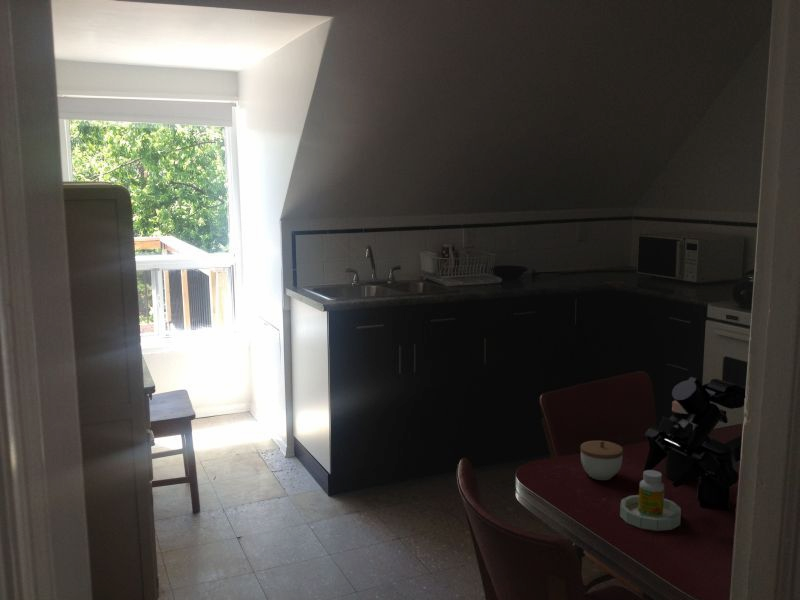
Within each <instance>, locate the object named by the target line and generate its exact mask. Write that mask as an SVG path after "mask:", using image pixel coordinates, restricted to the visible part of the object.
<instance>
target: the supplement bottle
mask: <svg viewBox="0 0 800 600" xmlns="http://www.w3.org/2000/svg"><path fill="white" fill-rule="evenodd" d="M642 478H643V479H642V480H640V481H639V489H638V495H639V504H638V512H639V513H640V514H641V515H642V516H646V517H653V518H659V517H661V516H662V515H663V502H664V499H665V497H664V496H665V484H664V483H663V482H662V480H663V474H662V473H661V472H660V471H658V470H654V469H652V470H646V471H644V470H643V474H642Z"/></svg>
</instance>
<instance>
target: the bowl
mask: <svg viewBox="0 0 800 600" xmlns="http://www.w3.org/2000/svg"><path fill="white" fill-rule="evenodd" d="M638 504H639V494H635V495H628V496H626V497H624V498H622V499H621V501H620V506H619V516H620V518H621V519H622V520H623V521H624V522H625V523H626V524H629V525H632V526H634V527H636V528H639V529H641V530H642V529H643V530H649V531H655V532H656V531H657V532H659V531H671V530H674V529H676V528H677V527H679V526H681V521H682V520H681V516H682V508H681V506H679V505H678V504H676V503H675V502H674V501H673V500H669V499H667V498H664V502H663V515H662V516H661V517H659V518H653V517H646V516H642V515H641V514H640V513H639V512H638Z"/></svg>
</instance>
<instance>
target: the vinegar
mask: <svg viewBox="0 0 800 600" xmlns="http://www.w3.org/2000/svg"><path fill="white" fill-rule="evenodd" d="M671 406H672V407H671V412H672V415H671V416H670V417H669V418H668V419H670V420H672V421H675V422H677V423H679V421H680V420H682V419H684V420H687V419H688V418H689V416H690V415H691V414H688V413H687V412H686V411H685V410H684V409H683V408H682V407H681V406H680V404H679V403H678V402H677V401H676V400H675V399H674V400H673V401H672V402H671ZM666 435H667V436H668V437H669V435H668V433H667V432H666ZM669 438H670V439H671V440H672V438H671V437H669ZM677 448H679V447H677ZM666 453H667V454H668V455H667V456H666V457H665V458H664V476H665V477H666V478H667V479H668V480H672V481H674V480H675V479H676V477H677V476H678V474H679V473H680V471H681V470H682V469H683V467H684V466H685V464H686V457H687V456H685V455H683V454H681V453H679V452H677V451H675V450H672V449H671V450H670V451H668V452H666Z"/></svg>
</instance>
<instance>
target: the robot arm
mask: <svg viewBox="0 0 800 600" xmlns="http://www.w3.org/2000/svg"><path fill="white" fill-rule="evenodd" d="M745 387H746V386H741V385H738V384H735V383H732V382H728V381H725V380H723V379H720V378H719V379H718V378H713V379H712V378H711V380H710V381H709V382H708V383H704V384H702V383H701V381H700V380H699V379H698V378H697V377H694V376H690V377H689V378H688V379H687V380H684V381H681V382H679V383H677V384H676V385H675V386H674V387H673V389H672V391H671V396H672V398H674V400H676V401H677V402H678V403H679V404H680V406H681V407H682V408H683V409H684V410H685V411H686V412H687V413H688V414H691V415H690V416H689V418H688V419H687V420H684V419H682V420H680V421H679V423H677V422H675V421H672V420H670V419H669V418H667V417H665V416H662V418H661V421H660V422H659V425H658V426H657V427H658V428H656V427H653V426H652V427H649V428H648V429H647V430H646V431H645V433H644V436H646V441H647V442H648V444H649V448H648V449H649V450H648V455H647V458H646V461H645V465H644V468H643V472H644V471H646V470H654V468H655V467H656V466H658V465H659V464H660V463H661V462H662V461H663V460H665V457H666V456H667V455H668V454H667V453H666V452H668V451H670V450H671V449H672V450H675V451H677V452H679V453H681V454H683V455H685V456H687V457H686V464H685V466H684V467H683V469H682V470H681V471H680V473H679V474H678V476H677V477H676V479H675V480H673V482H672V484H671V485H672V486H673V488H678V487H680V486H682V485H684V484H686V483H688V482H691V481H693V480H695V479H698V481H697V492H696V493H697V494H696V499H697V501H698V503H699V507H705V508H712V509H720V510H725V511H726V510H730V502H729V501H730V491H731V489H730V488H731V487H732V486H733V485H736V484H737V483H738V480H739V477H738V474H739V473H738V471H736V470H735V466H736V463H737V462H740V461H741V460H740V447H741V435H740V436H739V435H738V436H737V437H735V438H733V439H731V440H728V441H727V442H725V443H723V442H722V441H719V440H716V439H715V438H712V439H711V438H710V437H709V435H710V434H711V433H712V432H713V430H714V429H715V428H716V426H717V425H718V423H719V422H722V423H723V424H727V423H728V417H727V411H726V410H723V409H721V408H719V407H718V406H722V407H724V408H727V409H731V410H732V409H733V410H734V409H740V408H742V407H744V406H745V405H744V398H745ZM665 432H666V433H665ZM667 433H668V435H669V437H671V438H672V440H671V439H670V438H669V437H668V436H667ZM677 447H679V448H677ZM699 478H700V479H699Z"/></svg>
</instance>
